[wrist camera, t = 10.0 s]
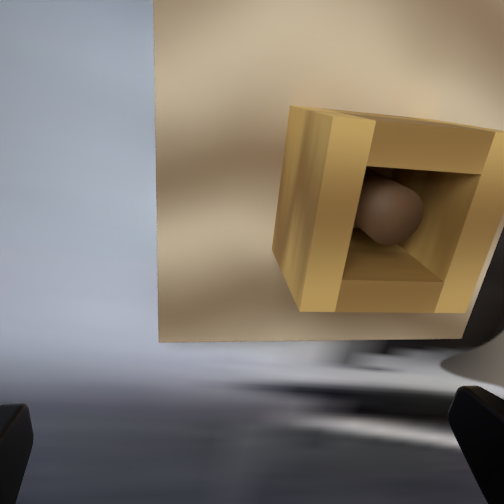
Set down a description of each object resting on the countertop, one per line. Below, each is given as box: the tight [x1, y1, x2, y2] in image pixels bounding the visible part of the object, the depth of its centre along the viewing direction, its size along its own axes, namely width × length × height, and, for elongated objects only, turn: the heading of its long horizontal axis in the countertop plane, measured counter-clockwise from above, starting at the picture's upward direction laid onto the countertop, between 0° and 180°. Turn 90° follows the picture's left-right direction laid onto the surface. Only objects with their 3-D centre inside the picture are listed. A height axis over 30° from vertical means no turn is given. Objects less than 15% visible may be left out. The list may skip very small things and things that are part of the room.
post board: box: [153, 0, 504, 343], centre depth 15 cm, size 16×16×6 cm
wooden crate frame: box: [272, 105, 504, 313], centre depth 14 cm, size 6×6×5 cm
